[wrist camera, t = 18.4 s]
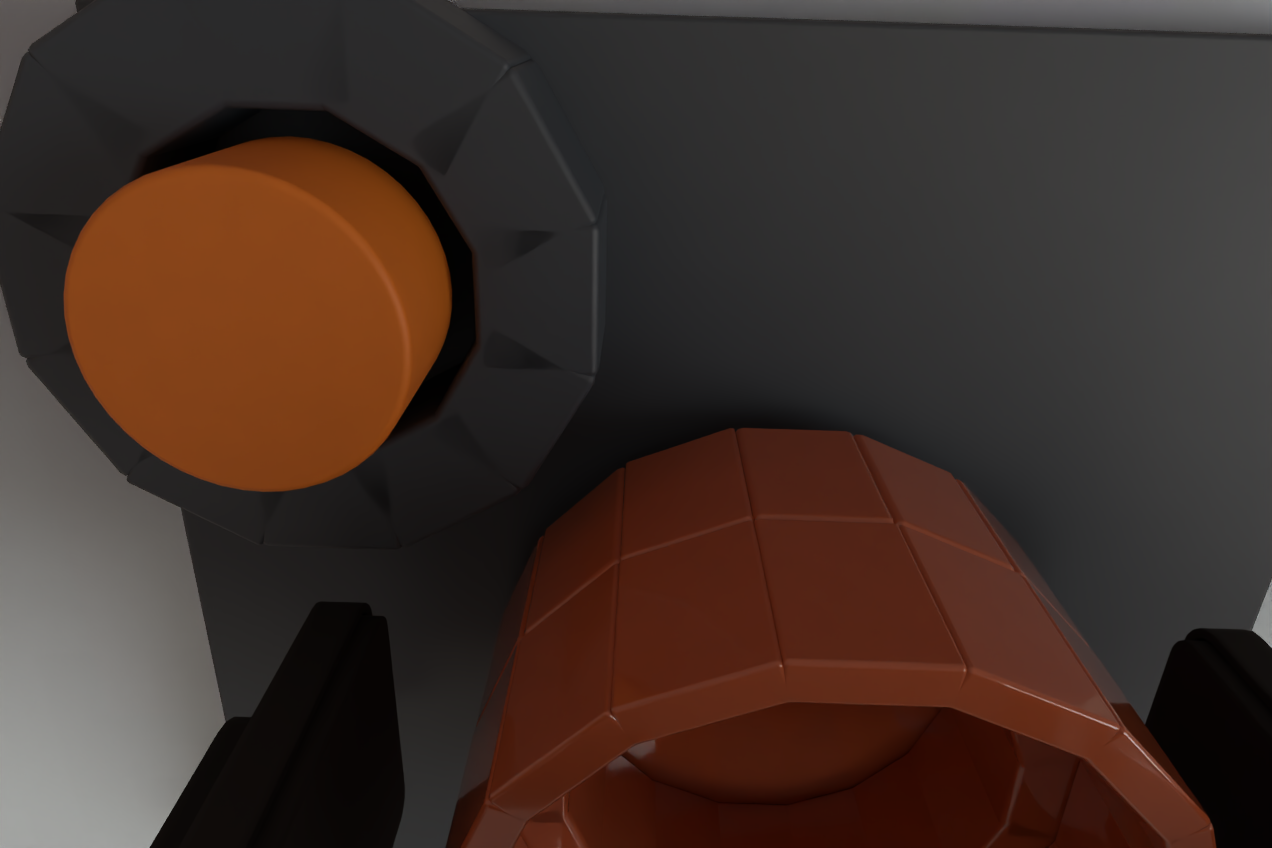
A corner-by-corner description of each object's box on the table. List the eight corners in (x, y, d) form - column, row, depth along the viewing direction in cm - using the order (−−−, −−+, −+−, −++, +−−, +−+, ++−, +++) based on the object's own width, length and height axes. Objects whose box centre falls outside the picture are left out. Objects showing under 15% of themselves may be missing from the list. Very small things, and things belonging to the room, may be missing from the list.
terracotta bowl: (501, 399, 11) (405, 650, 6) (1074, 418, 11) (1348, 679, 6) (516, 816, 13) (456, 1176, 9) (969, 830, 13) (1111, 1198, 9)
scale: (129, -37, 10) (-98, -57, 7) (1358, 4, 10) (1667, 0, 7) (290, 842, 16) (204, 1041, 13) (1073, 868, 16) (1174, 1073, 13)
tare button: (140, 129, 8) (19, 159, 7) (444, 139, 8) (397, 170, 7) (193, 409, 9) (101, 490, 8) (461, 418, 9) (423, 500, 8)
